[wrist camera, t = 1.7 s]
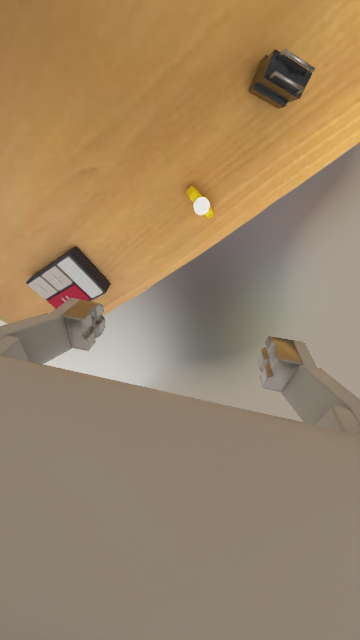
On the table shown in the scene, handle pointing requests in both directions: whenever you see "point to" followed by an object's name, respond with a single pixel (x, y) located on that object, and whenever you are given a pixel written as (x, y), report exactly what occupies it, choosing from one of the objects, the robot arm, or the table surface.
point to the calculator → (69, 279)
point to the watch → (200, 203)
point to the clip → (281, 78)
